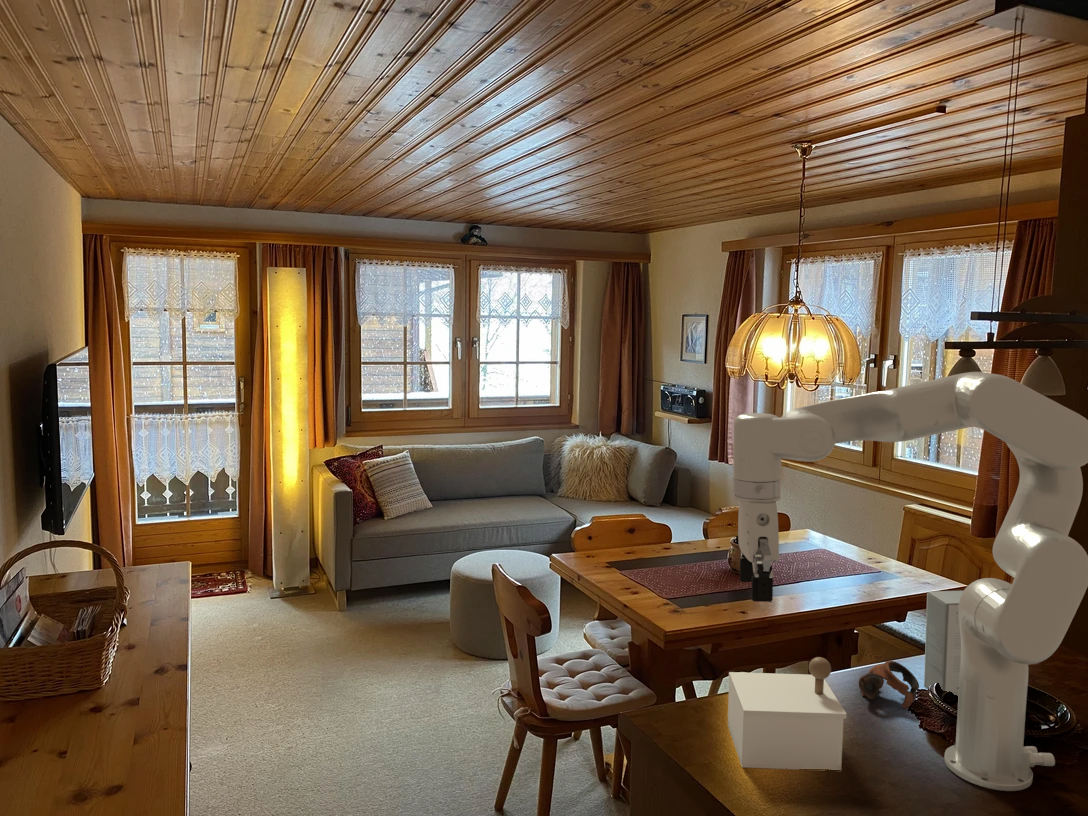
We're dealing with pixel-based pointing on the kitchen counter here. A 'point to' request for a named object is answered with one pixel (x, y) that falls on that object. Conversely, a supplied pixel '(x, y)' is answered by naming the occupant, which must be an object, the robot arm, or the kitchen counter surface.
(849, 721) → the kitchen counter surface
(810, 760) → the carton
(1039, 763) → the robot arm
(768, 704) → the carton lid
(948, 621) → the hard drive box
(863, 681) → the broken clay pot
